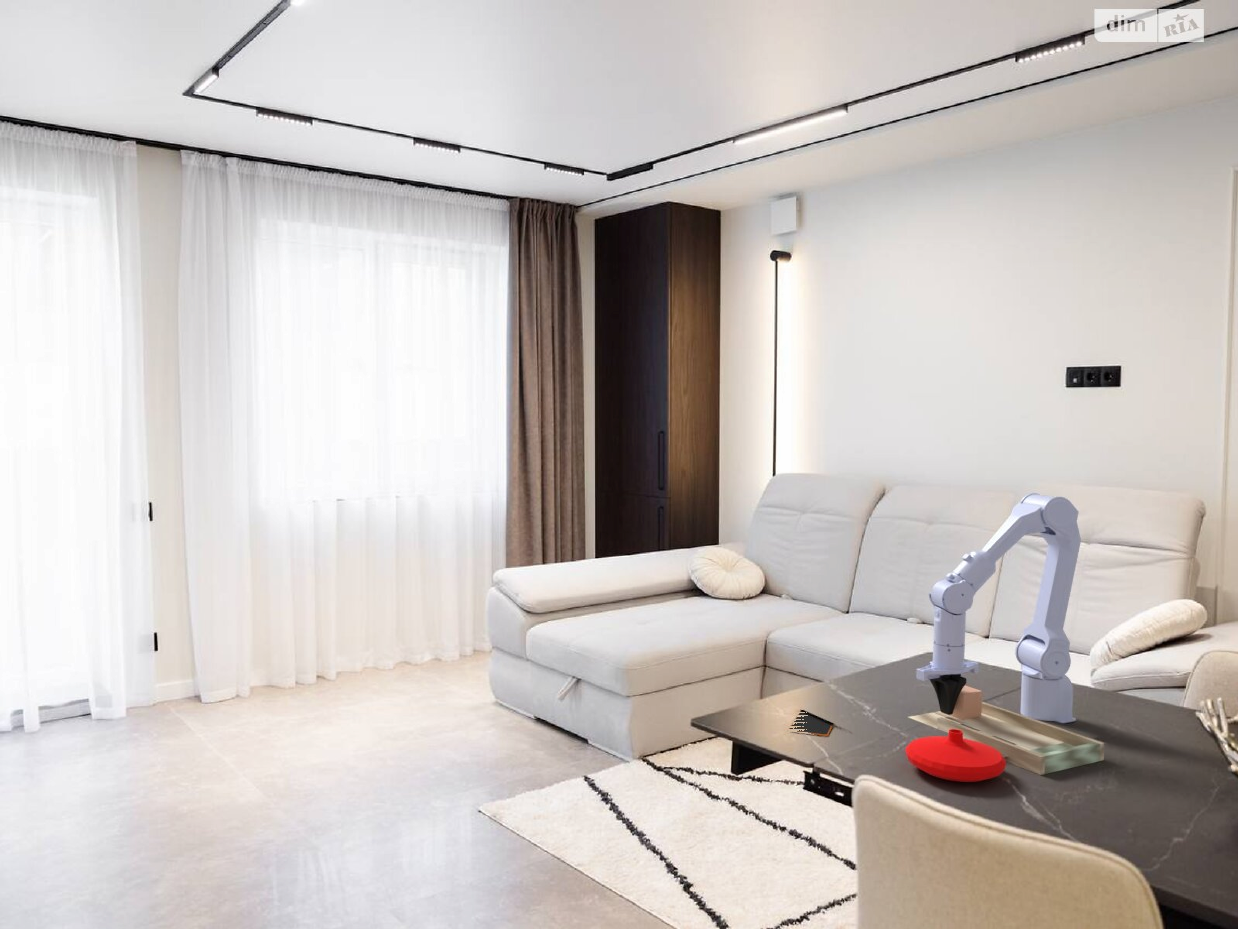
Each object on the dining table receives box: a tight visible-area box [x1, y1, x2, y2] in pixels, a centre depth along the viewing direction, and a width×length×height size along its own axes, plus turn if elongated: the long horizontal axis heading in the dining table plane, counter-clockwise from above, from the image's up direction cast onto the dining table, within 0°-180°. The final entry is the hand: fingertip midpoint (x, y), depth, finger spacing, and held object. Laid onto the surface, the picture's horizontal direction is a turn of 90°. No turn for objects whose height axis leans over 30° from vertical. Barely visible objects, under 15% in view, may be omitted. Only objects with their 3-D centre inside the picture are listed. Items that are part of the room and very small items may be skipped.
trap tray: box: [907, 701, 1105, 776], centre depth 172 cm, size 16×30×3 cm, turn 27°
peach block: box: [951, 685, 983, 720], centre depth 183 cm, size 5×5×5 cm
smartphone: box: [788, 709, 835, 738], centre depth 181 cm, size 8×17×1 cm, turn 159°
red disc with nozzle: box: [904, 729, 1007, 783], centre depth 155 cm, size 16×16×7 cm
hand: (946, 713), depth 181 cm, fingers closed
